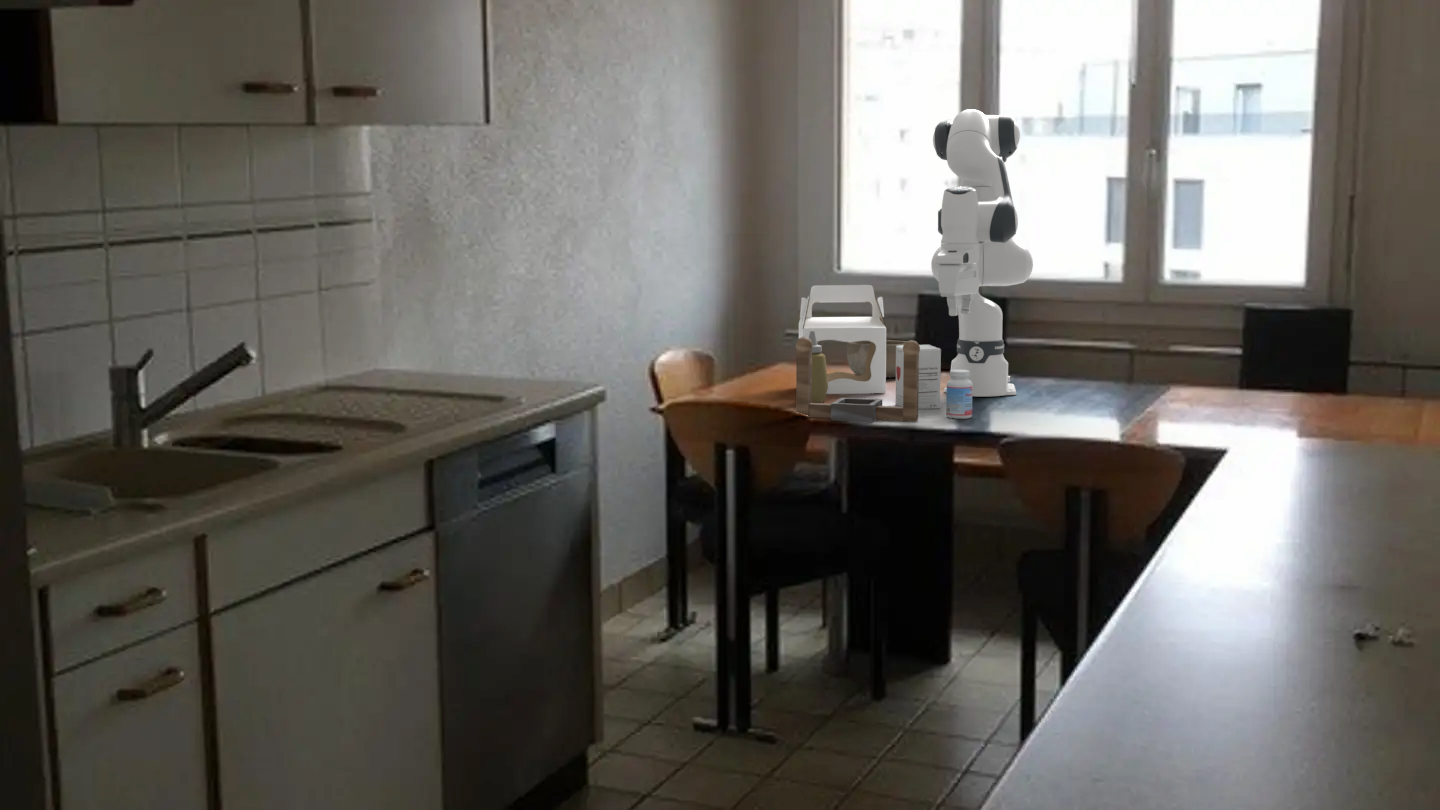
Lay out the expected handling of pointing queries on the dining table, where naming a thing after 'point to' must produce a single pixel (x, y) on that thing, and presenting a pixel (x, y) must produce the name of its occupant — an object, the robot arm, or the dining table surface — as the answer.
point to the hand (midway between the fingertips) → (959, 314)
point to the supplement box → (922, 376)
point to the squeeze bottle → (818, 371)
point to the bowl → (860, 349)
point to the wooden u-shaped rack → (857, 406)
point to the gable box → (849, 335)
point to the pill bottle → (959, 395)
